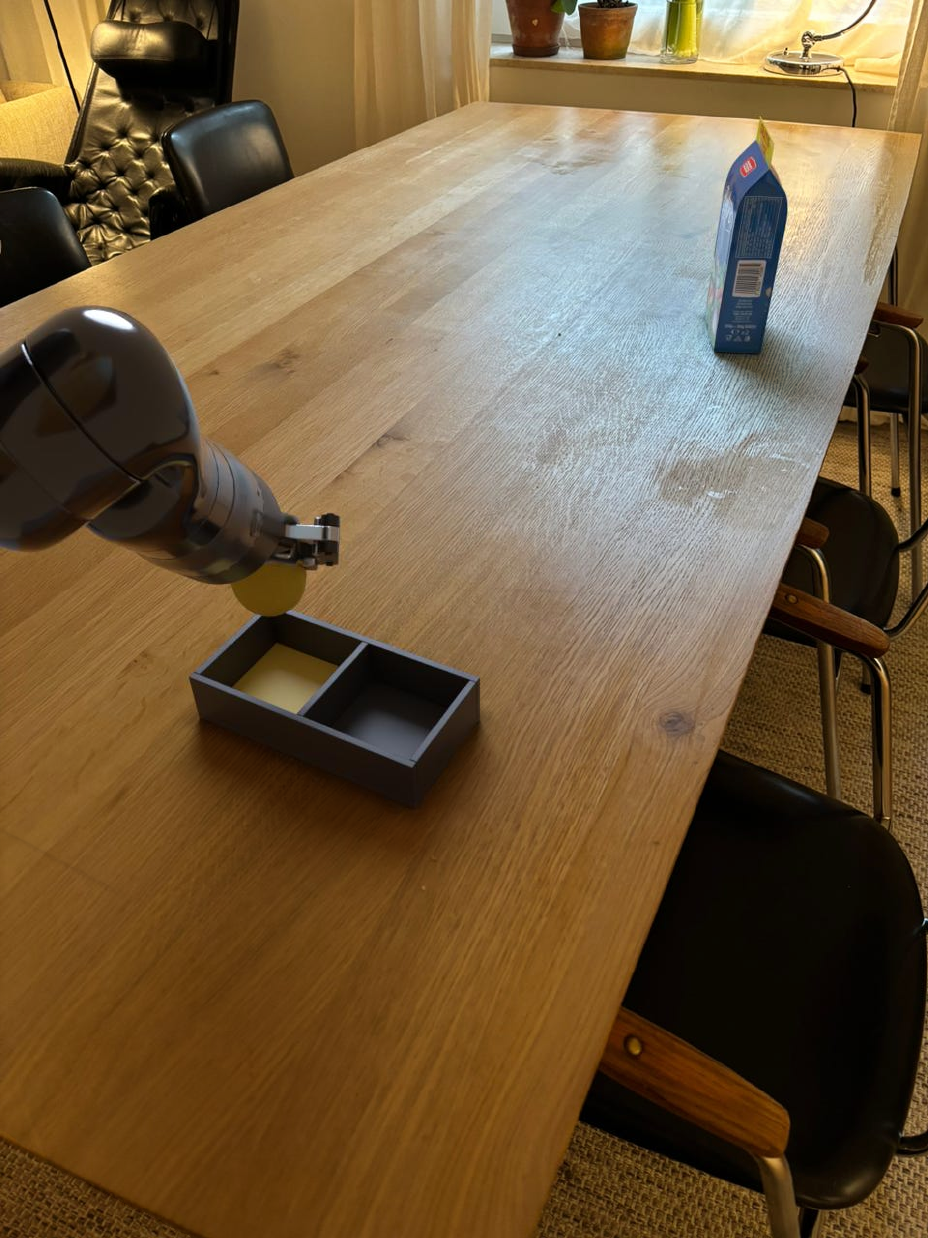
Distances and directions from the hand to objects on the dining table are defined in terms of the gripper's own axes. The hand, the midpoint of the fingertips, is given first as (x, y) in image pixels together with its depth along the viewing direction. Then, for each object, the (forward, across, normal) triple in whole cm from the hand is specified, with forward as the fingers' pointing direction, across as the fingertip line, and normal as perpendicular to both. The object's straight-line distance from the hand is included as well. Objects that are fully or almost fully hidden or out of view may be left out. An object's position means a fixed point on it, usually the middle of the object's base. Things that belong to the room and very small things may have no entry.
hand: (272, 555), depth 73 cm
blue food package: (+58, -45, -40) cm, 83 cm away
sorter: (+7, -4, +12) cm, 14 cm away
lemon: (+2, 0, +4) cm, 5 cm away
